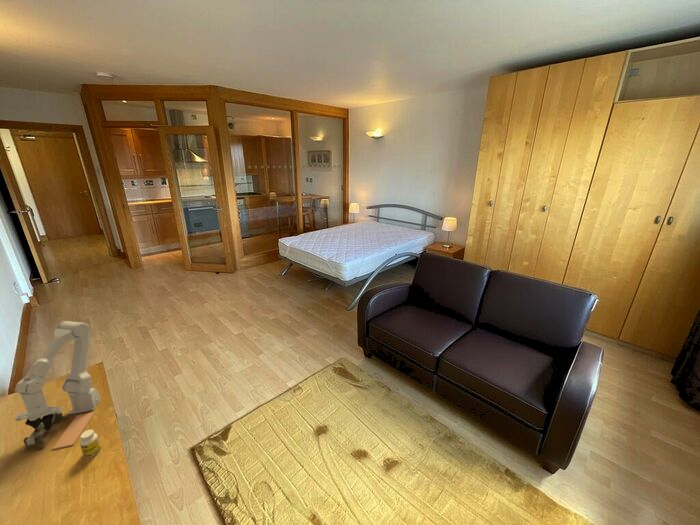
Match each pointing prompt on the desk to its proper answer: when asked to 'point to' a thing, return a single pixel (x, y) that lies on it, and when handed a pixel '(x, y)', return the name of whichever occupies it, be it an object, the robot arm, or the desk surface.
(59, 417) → the hook stand
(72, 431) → the mat
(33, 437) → the steel rail
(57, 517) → the desk surface
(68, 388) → the robot arm
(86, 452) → the supplement bottle
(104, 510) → the desk surface
